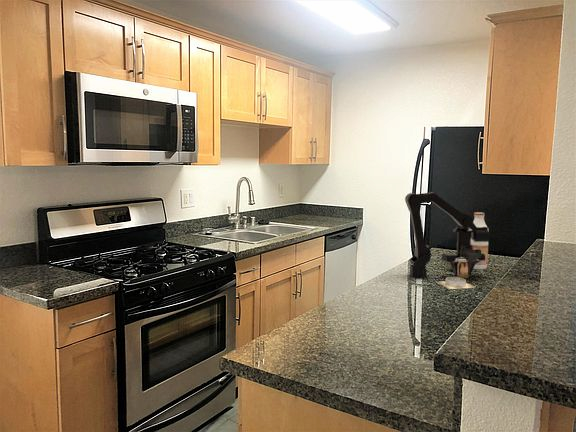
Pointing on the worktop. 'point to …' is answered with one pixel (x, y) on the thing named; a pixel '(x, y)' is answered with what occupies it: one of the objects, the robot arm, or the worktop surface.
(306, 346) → the worktop surface
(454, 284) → the collar
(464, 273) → the copper brown cylinder
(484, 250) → the fruit juice
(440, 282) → the board
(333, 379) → the worktop surface
